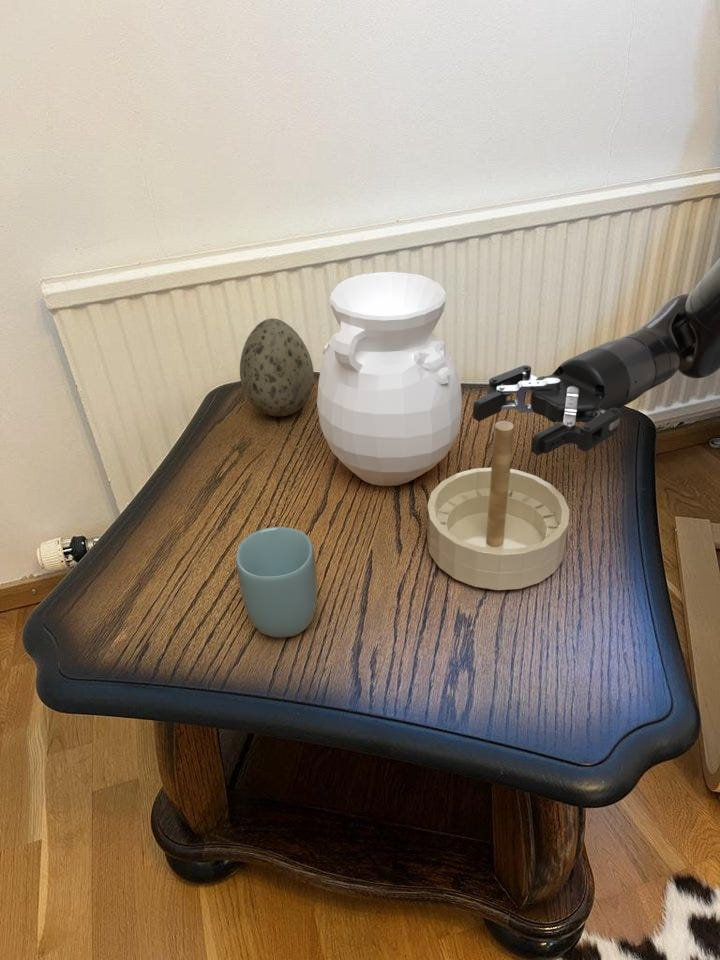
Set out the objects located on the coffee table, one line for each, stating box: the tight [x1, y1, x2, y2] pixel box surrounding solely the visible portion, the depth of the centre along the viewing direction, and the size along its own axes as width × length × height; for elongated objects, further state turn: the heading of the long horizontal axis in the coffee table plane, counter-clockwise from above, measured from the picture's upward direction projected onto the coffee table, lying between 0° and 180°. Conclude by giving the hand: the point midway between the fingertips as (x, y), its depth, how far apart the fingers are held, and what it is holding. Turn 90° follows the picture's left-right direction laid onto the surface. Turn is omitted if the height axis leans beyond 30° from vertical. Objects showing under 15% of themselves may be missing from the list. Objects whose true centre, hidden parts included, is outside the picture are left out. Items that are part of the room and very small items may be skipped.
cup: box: [235, 526, 318, 639], centre depth 78 cm, size 8×8×10 cm
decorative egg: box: [239, 317, 315, 418], centre depth 111 cm, size 11×11×15 cm
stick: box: [486, 420, 515, 547], centre depth 84 cm, size 2×2×16 cm
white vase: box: [316, 271, 463, 487], centre depth 95 cm, size 19×18×25 cm
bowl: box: [426, 466, 571, 591], centre depth 87 cm, size 16×16×6 cm
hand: (503, 429), depth 79 cm, fingers open, 8 cm apart
